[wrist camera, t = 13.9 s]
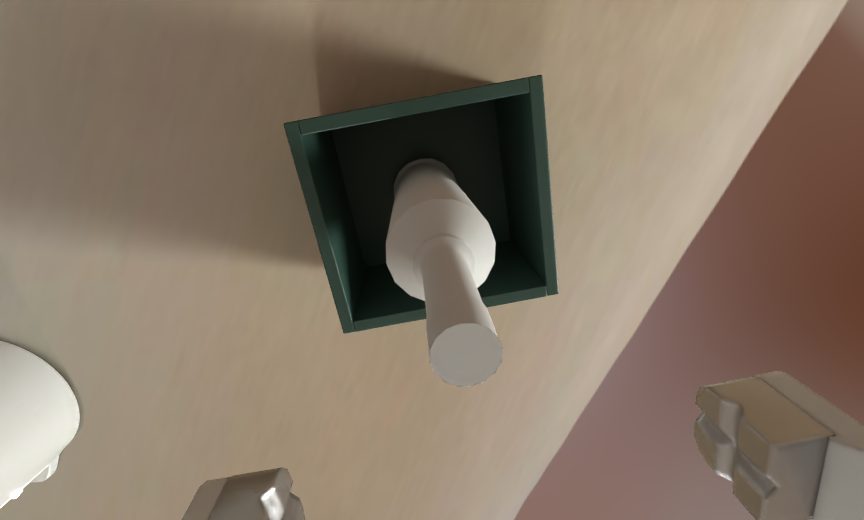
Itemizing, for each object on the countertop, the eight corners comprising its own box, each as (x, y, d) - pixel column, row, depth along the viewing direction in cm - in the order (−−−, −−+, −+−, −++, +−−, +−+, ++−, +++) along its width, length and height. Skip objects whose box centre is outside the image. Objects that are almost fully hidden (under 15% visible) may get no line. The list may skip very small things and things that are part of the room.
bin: (359, 272, 38) (343, 334, 28) (319, 117, 33) (282, 123, 23) (517, 243, 38) (559, 294, 28) (499, 83, 33) (542, 74, 23)
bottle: (399, 149, 34) (389, 251, 10) (462, 162, 34) (584, 286, 11) (388, 211, 35) (358, 418, 12) (448, 222, 36) (528, 440, 13)
